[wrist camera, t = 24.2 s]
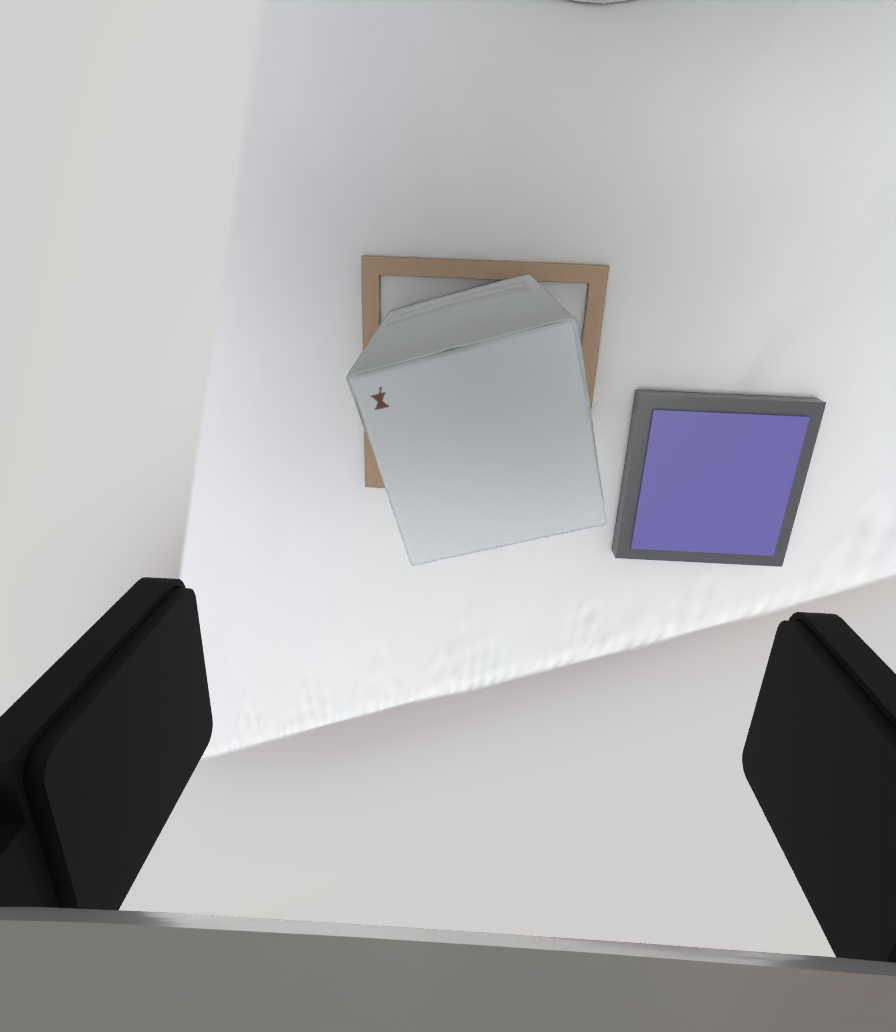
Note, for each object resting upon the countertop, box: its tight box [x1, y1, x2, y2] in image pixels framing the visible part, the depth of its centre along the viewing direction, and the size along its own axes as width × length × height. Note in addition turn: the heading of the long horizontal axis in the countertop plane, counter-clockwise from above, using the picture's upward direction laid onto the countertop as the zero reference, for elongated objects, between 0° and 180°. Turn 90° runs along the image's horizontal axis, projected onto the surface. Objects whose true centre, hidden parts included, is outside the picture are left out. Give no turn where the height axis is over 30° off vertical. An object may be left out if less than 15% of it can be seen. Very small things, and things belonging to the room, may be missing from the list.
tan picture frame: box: [362, 256, 609, 488], centre depth 32 cm, size 12×12×1 cm
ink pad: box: [612, 390, 826, 566], centre depth 33 cm, size 9×9×1 cm
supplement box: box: [347, 274, 607, 565], centre depth 26 cm, size 7×7×13 cm
